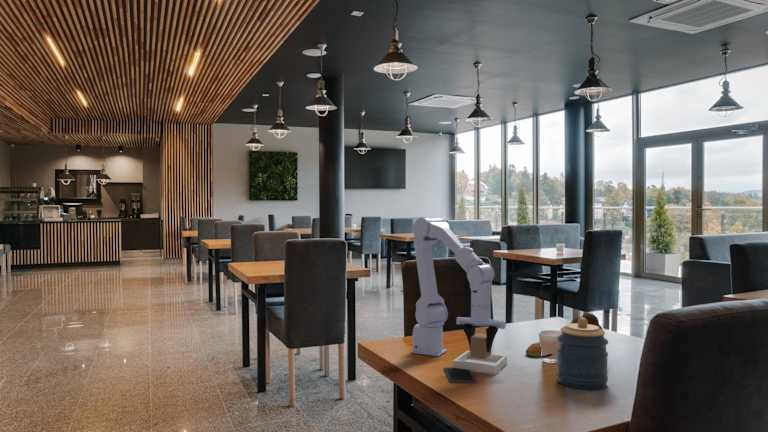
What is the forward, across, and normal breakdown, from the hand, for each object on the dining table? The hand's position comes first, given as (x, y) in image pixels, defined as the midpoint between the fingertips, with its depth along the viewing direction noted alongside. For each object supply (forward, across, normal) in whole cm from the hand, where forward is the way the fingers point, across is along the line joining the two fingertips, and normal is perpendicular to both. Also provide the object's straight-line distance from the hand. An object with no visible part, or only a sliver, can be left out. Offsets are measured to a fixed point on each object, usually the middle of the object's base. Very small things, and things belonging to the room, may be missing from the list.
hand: (480, 350), depth 164 cm
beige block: (+2, 0, 0) cm, 2 cm away
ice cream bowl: (+5, +27, +21) cm, 35 cm away
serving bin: (+5, 0, 0) cm, 5 cm away
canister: (+5, +29, -2) cm, 30 cm away
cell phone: (+5, -3, -11) cm, 13 cm away
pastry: (+5, +12, +23) cm, 26 cm away
